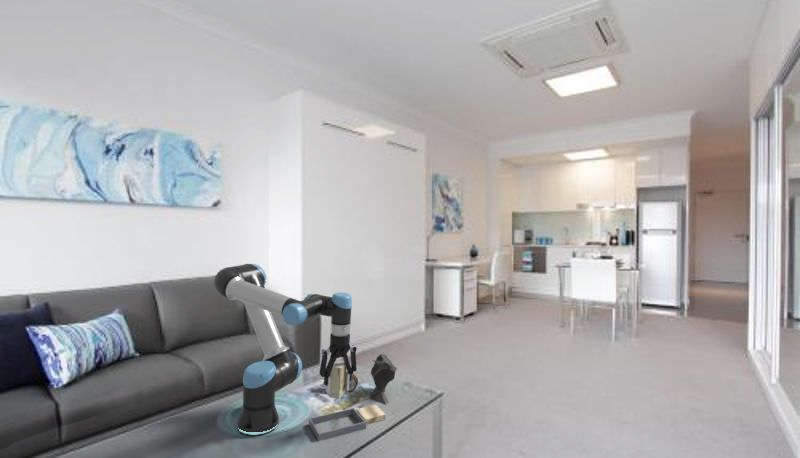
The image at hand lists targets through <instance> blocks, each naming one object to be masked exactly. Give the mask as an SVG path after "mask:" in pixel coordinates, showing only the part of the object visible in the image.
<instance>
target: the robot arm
mask: <svg viewBox="0 0 800 458" xmlns="http://www.w3.org/2000/svg"><path fill="white" fill-rule="evenodd" d="M213 278H214V279H213V287H214V288H213V289H214V290H215V292H216V293H217V294H218V295H219V296H221V297H222V298H224V299H228V300H229V301H235V300H237V301H241V302H242V303H243V304H244V307H245V310H246V312H247V315H248V317H249V319H250V322H251V324H252V326H253V329H254V331H255V334H256V338H257V339H258V343H259V345H260V347H261V350H262V351H263V355H264V356H263V358H262V360H261V361H256V362H254V363H251V364H250V365H248V366H247V367H245V369H244V372H243V378H242V408H241V412H240V415H239V417H238V421H237V429H238V428H239V429H241V430H243V431H246V432H263V431H267V430H270V429H272V428H273V427H275V426H276V425H277V424H278V423H279V424H280V416H279V412H278V410H277V407H276V405H275V400H276V398H275V397H276V395H275V394H276V392H279V391H280V390H281V389H283V388H286V386H287V387H288V385H290V384H293V382H295V381H296V380H297V379H298V378H300V377H301V374H302V370H303V363H302V359H301V358H300V357H299V355H298V354H296V352H292V351H291V349H290V347H288V346H286V345H285V343H284V342H283V339H282V336H281V333H280V331H279V329H278V327H277V323H276V322H275V319H274V317H273V314H275V315H276V316H279V317H282V319H283V320H284V322H285V323H286V324H287V325H289V326H296V325H301V324H302V323H304V322H306V321H309V320H311V319H313V318H316V317H319V316H325V317H329V318H330V337H329V347H328V348H326V349H325V348H324V349H323V348H322V350H321V356H322V357H321V360H320V361H321V362H320V368H319V375H320V376H321V378H323V384H324V385H325V392H326V394H327V395H329V394H330V382H331V377H330V376H329V375H330V373H331V370H332V367H333V365H334V363H336V362H337V359H339V358H342V359H343V362H344V363H345V364H346V381H345V389H346V390H347V391H348V390H349V381H351V378H352V374H354V372H356V371H357V368H358V367H357V355H356V353H357V349H358V348H357V347H356V346H355V345H353V344H352V345H350V342H351V335H350V333H351V322H352V321H351V317H352V307H353V304H352V303H353V301H352V300H353V299H352V295H351V294H350V293H347V292H335V293H333V294H332V296H327V295H322V294H318V293H310V294H309V293H308V294H307V295H306V296H305V297H304V299H302V300H298V299H296V298H292V297H290V296H288V295H284V294H281V293H279V292H277V291H276V292H275V291H273V290H270V289H268V288H266V286H265V285H266V282H267V281H266V280H267V274H266V272H265V270H264V269H263V267H261V266H260V265H258V264H256V263H245V264H240V265H234V266H227V267H224V268H222V269H220V270H219V271H218V272H217V273H216V275H215V276H214V277H213ZM349 351H350V354H349V355H350V360H349V357H348V352H349ZM329 353H330V356H329ZM328 356H329V360H328ZM279 424H278V425H279Z"/></svg>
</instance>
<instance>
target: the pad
mask: <svg viewBox="0 0 800 458" xmlns="http://www.w3.org/2000/svg"><path fill="white" fill-rule="evenodd" d="M355 410H356V411H357V412H358V413H359V414H360V415H361V417H362V418H363V419H364V420H365V421H366V425H368V424H372V423H376V422H381V421H385V420H386V413H385V412H384V411H383V410H382V409H381V408H380V407H379V406H378V405H377V404H373V405H370V406H364V407H361V408H355Z"/></svg>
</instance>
